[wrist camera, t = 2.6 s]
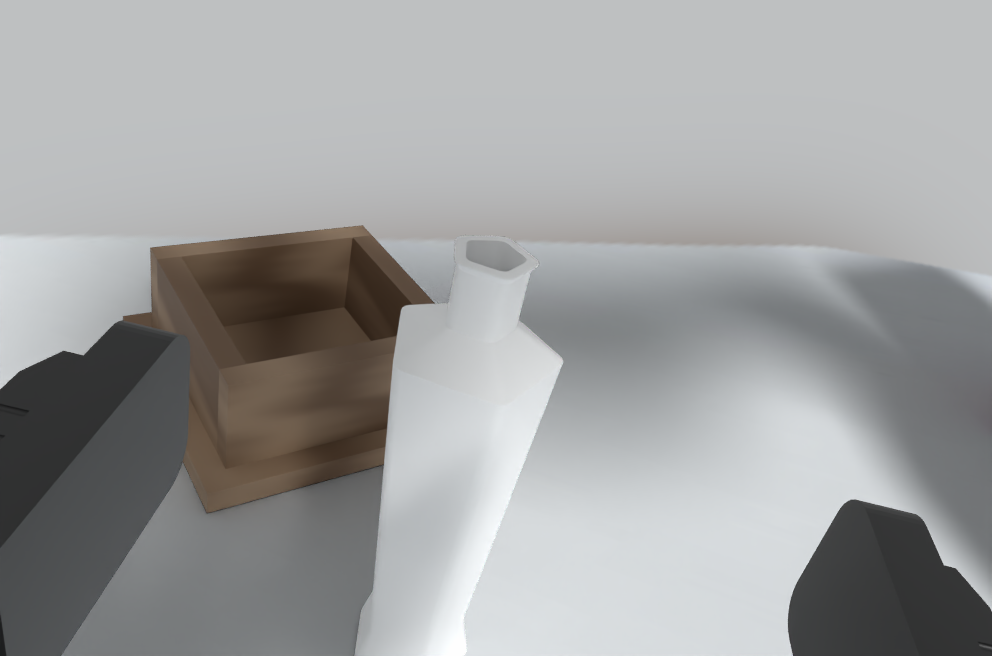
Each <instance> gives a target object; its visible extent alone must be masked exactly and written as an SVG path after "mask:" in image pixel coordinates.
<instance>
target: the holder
mask: <svg viewBox="0 0 992 656" xmlns="http://www.w3.org/2000/svg"><path fill="white" fill-rule="evenodd" d="M150 252H151V296H152V312H150V313H143V314H136V315H129V316H123V321H127V322H132V323H136V324H140V325H144V326H148V327H152V328H156V329H161V330H165V331H169V332H173V333H177V334H181V335H185V336H186V337H187V338H188V340H189V344H190V382H189V419H188V440H187V446H186V451H185V455H184V458H183V463H184V465H185V467H186V469H187V472H188V474H189V476H190V478H191V480H192V482H193V484H194V487H195V489H196V491H197V493H198V495H199V497H200V500H201V502H202V504H203V506H204V508H205V510H206V512H207V513H210V512H214V511H217V510H221V509H224V508H228V507H232V506H235V505H239V504H243V503H246V502H250V501H253V500H257V499H261V498H264V497H268V496H271V495H275V494H279V493H282V492H286V491H290V490H293V489H297V488H300V487H304V486H308V485H311V484H315V483H318V482H322V481H326V480H329V479H333V478H337V477H340V476H344V475H347V474H351V473H355V472H358V471H362V470H365V469H369V468H373V467H376V466H380V465H384V458H385V447H386V436H387V424H388V413H389V401H390V390H391V379H392V367H393V358H394V352H395V346H396V339H397V333H398V326H399V320H400V314H401V309H402V307H404V306H406V305H418V304H435V303H434V302H433V301H432V300H431V299H430V298H429V297H428V295H427V294H426V293H425V292H424V291H423V290H422V289H421V288H420V287H419V286H418V285H417V284H416V283H415V281H414V280H413V279H412V278H411V277H410V276H409V275H408V274H407V273H406V272H405V271H404V270H403V269H402V267H401V266H400V265H399V264H398V263H397V262H396V261H395V260H394V259H393V258H392V257H391V256H390V254H389V253H388V252H387V251H386V250H385V249H384V248H383V247H382V246H381V245H380V244H379V243H378V242H377V240H376V239H375V238H374V237H373V236H372V235H371V234H370V233H369V232H368V231H367V230H366V229H365V228H364V226H353V227H344V228H334V229H324V230H315V231H305V232H296V233H286V234H277V235H267V236H257V237H248V238H238V239H229V240H219V241H210V242H200V243H191V244H181V245H171V246H162V247H152V248H150Z"/></svg>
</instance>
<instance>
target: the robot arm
mask: <svg viewBox="0 0 992 656" xmlns="http://www.w3.org/2000/svg"><path fill="white" fill-rule="evenodd" d="M189 382H190V344H189V340H188V338H187V337H186V336H185V335H181V334H177V333H173V332H169V331H165V330H161V329H156V328H152V327H148V326H144V325H140V324H136V323H132V322H127V321H119V322H117V323H115V324H114V325H113V326H112V327H111V328H110V329H109V330H108V331H107V332H106V333H105V334H104V335H103V336H102V337H101V338H100V339H99V340H98V341H97V342H96V343H95V344H94V345H93V346H92V347H91V348H90V349H89V350H88V351H87V352H86V354H85V355H84V356H83V355H79V354H75V353H71V352H67V351H62V352H60V353H58V354H56V355H54V356H52V357H49V358H47V359H45V360H43V361H41V362H39V363H37V364H34V365H32V366H30V367H28V368H26V369H24V370H22V371H20V372H18V373H17V374H16V375H15V376H14V377H13V378H12V379H11V380H10V381H9V382H8V383H7V384H6V385H5V386H4V387H2V388H1V389H0V656H61V655H62V653H63V652H64V650H65V649H66V647H67V646H68V644H69V643H70V641H71V639H72V638H73V636H74V635H75V633H76V632H77V630H78V629H79V627H80V626H81V624H82V623H83V621H84V620H85V618H86V617H87V615H88V613H89V612H90V610H91V609H92V607H93V606H94V604H95V603H96V601H97V600H98V598H99V597H100V595H101V594H102V592H103V591H104V589H105V587H106V586H107V584H108V583H109V581H110V580H111V578H112V577H113V575H114V574H115V572H116V571H117V569H118V568H119V566H120V565H121V563H122V561H123V560H124V558H125V557H126V555H127V554H128V552H129V551H130V549H131V548H132V546H133V545H134V543H135V542H136V540H137V539H138V537H139V535H140V534H141V532H142V531H143V529H144V528H145V526H146V525H147V523H148V522H149V520H150V519H151V517H152V516H153V514H154V513H155V511H156V509H157V508H158V506H159V505H160V503H161V502H162V500H163V499H164V497H165V496H166V494H167V493H168V491H169V490H170V488H171V486H172V485H173V483H174V481H175V479H176V477H177V475H178V472H179V470H180V467H181V465H182V461H183V458H184V455H185V451H186V446H187V440H188V419H189ZM788 633H789V639H790V644H791V648H792V653H793V656H992V611H991V609H990V607H989V606H988V605H987V604H986V603H985V602H984V600H983V599H982V598H981V597H980V596H979V595H978V594H977V592H976V591H975V590H974V589H973V588H972V587H971V585H970V584H969V583H968V582H967V581H966V580H965V579H964V577H963V576H962V575H961V574H960V573H959V572H958V571H957V569H956V568H952V567H948V566H944V565H943V562H942V560H941V558H940V556H939V553H938V551H937V549H936V547H935V544H934V542H933V540H932V538H931V536H930V533H929V531H928V529H927V527H926V525H925V523H924V521H923V520H922V519H921V518H920V517H919V516H918V515H916V514H913V513H908V512H904V511H900V510H896V509H892V508H888V507H884V506H879V505H875V504H871V503H867V502H863V501H859V500H850V501H848V502H846V503H845V504H844V505H843V506H842V507H841V508H840V510H839V511H838V513H837V515H836V516H835V518H834V520H833V521H832V523H831V525H830V527H829V528H828V530H827V532H826V534H825V535H824V537H823V539H822V540H821V542H820V544H819V546H818V547H817V549H816V551H815V552H814V554H813V556H812V558H811V559H810V561H809V563H808V565H807V566H806V568H805V570H804V571H803V573H802V575H801V577H800V578H799V580H798V582H797V584H796V586H795V588H794V591H793V594H792V597H791V601H790V606H789V613H788Z"/></svg>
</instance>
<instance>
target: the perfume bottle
mask: <svg viewBox="0 0 992 656" xmlns="http://www.w3.org/2000/svg"><path fill="white" fill-rule="evenodd" d="M454 260H455V263H456V266H455V271H454V276H453V281H452V286H451V291H450V296H449V301H448V303H438V304H418V305H406V306H404V307H402V309H401V314H400V320H399V326H398V333H397V339H396V346H395V352H394V358H393V367H392V379H391V390H390V401H389V413H388V424H387V436H386V447H385V458H384V470H383V481H382V493H381V504H380V515H379V527H378V538H377V549H376V561H375V572H374V584H373V591H372V592H371V594H370V596H369V597H368V599H367V601H366V602H365V604H364V606H363V607H362V610H361V614H360V621H359V627H358V634H357V641H356V648H355V654H354V656H463V655H464V654H465V653H466V651H467V640H466V632H465V624H464V617H465V614H466V612H467V609H468V607H469V604H470V601H471V599H472V596H473V594H474V591H475V588H476V586H477V583H478V581H479V578H480V576H481V573H482V570H483V568H484V565H485V563H486V560H487V558H488V555H489V552H490V550H491V547H492V545H493V542H494V540H495V537H496V534H497V532H498V529H499V527H500V524H501V522H502V519H503V516H504V514H505V511H506V509H507V506H508V503H509V501H510V498H511V496H512V493H513V491H514V488H515V485H516V483H517V480H518V478H519V475H520V473H521V470H522V467H523V465H524V462H525V460H526V457H527V455H528V452H529V449H530V447H531V444H532V442H533V439H534V437H535V434H536V431H537V429H538V426H539V424H540V421H541V418H542V416H543V413H544V411H545V408H546V406H547V403H548V400H549V398H550V395H551V393H552V390H553V388H554V385H555V382H556V380H557V377H558V375H559V372H560V370H561V367H562V364H563V359H562V358H561V356H560V355H559V354H557V353H556V352H555V351H554V350H553V349H552V348H551V347H549V346H548V345H547V344H546V343H545V342H544V341H543V340H541V339H540V338H539V337H538V336H537V335H536V334H535V333H534V332H532V331H531V330H530V329H529V328H528V327H527V326H526V325H524V324H523V323H522V322H521V321H520V320H519V317H520V313H521V309H522V305H523V301H524V297H525V293H526V289H527V285H528V281H529V277H530V273H531V271H533V270H534V269H536V268H537V267H538V266H539V261H538V260H537V259H536V258H535V257H534V256H532V255H531V254H530V253H529V252H527V251H526V250H525V249H523V248H522V247H521V246H520V245H518V244H517V243H516V242H515V241H513V240H512V239H510V238H507V237H503V236H474V235H463V236H458V237H457V238H456V240H455V249H454Z"/></svg>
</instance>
